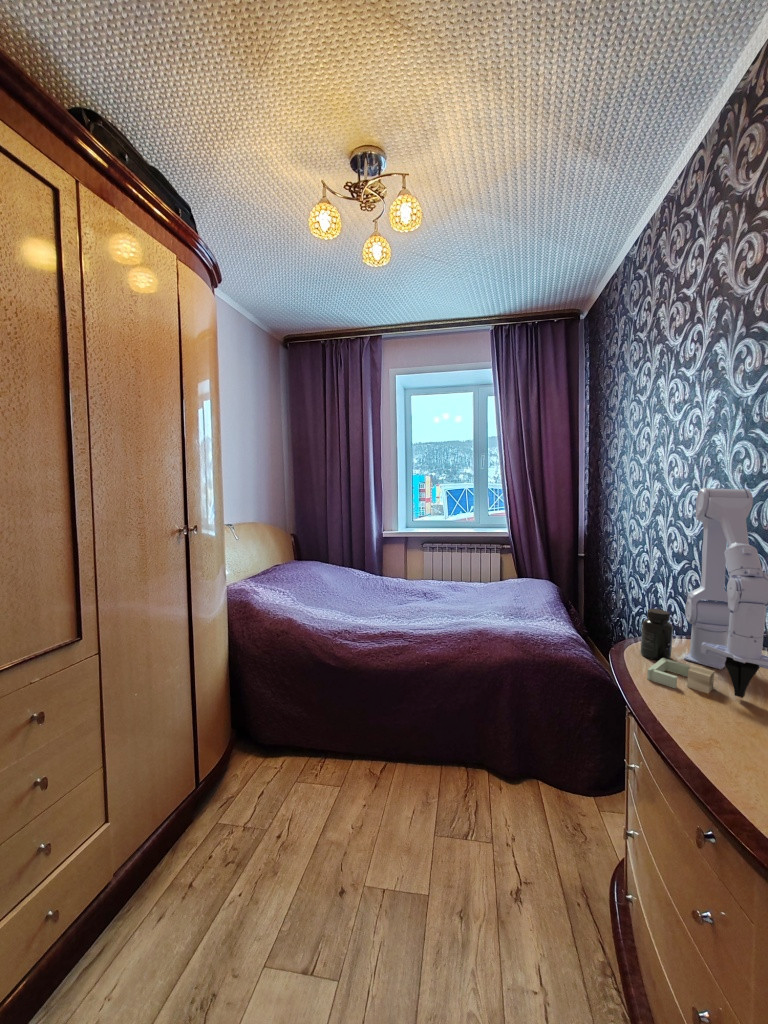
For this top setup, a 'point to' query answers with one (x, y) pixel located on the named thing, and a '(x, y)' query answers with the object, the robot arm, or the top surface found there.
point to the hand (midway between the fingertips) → (739, 695)
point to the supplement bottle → (657, 635)
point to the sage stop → (661, 677)
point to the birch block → (700, 679)
